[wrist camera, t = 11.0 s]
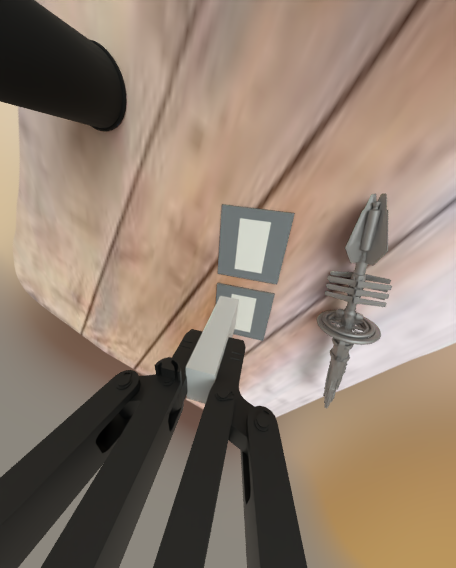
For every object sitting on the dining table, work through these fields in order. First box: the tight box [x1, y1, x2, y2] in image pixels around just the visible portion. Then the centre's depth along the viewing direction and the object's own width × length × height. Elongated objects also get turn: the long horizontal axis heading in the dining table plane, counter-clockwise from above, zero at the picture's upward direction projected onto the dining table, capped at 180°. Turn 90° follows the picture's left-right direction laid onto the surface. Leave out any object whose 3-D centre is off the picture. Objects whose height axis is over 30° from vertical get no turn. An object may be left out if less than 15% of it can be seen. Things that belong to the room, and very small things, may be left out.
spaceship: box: [317, 194, 392, 408], centre depth 28 cm, size 8×35×8 cm
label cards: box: [216, 204, 294, 341], centre depth 32 cm, size 24×10×1 cm, turn 175°
